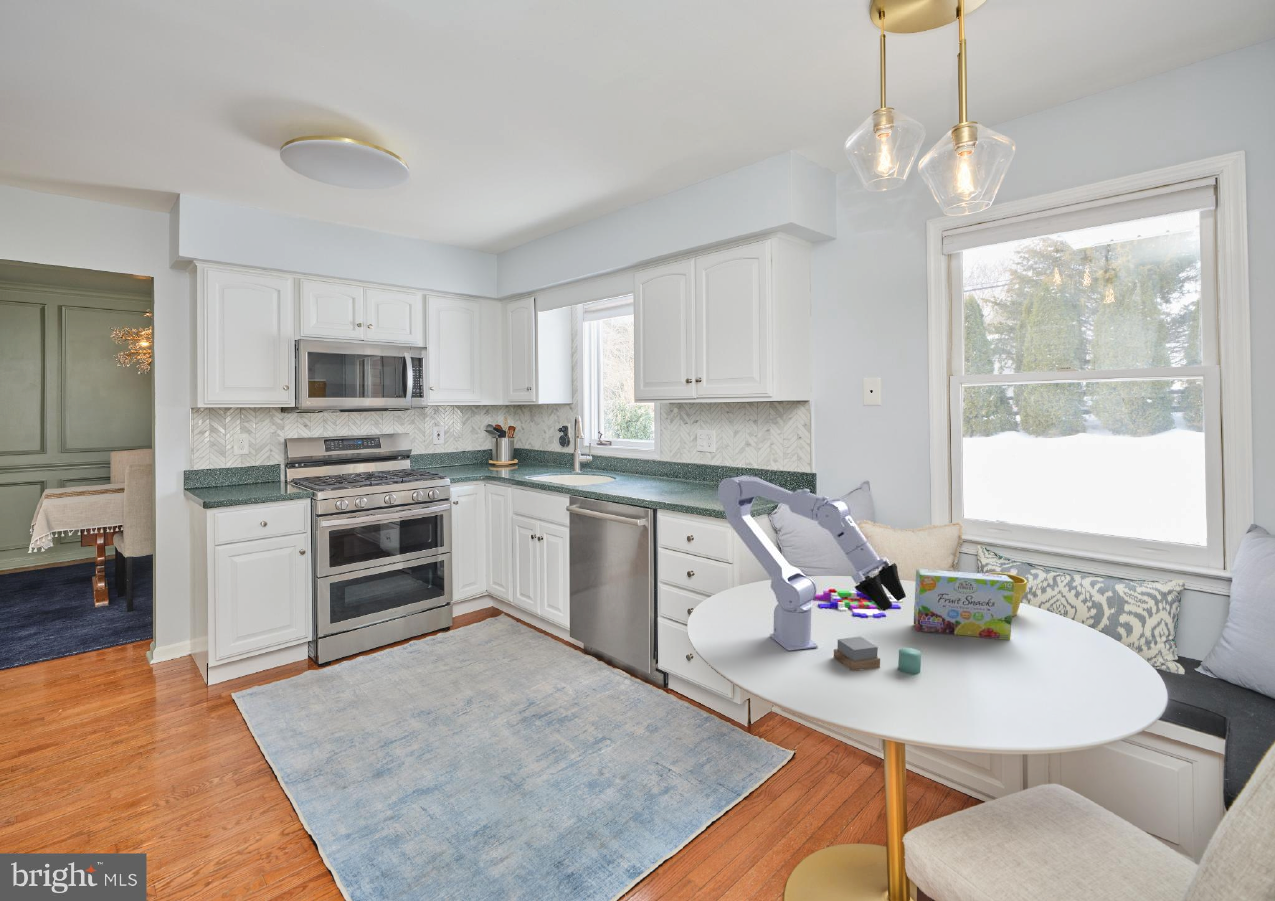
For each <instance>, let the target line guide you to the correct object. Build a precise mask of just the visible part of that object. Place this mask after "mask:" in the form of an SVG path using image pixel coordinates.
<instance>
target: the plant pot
mask: <svg viewBox="0 0 1275 901" xmlns="http://www.w3.org/2000/svg"><path fill="white" fill-rule="evenodd" d="M985 574H995V575H1006V576H1008V577H1009V578H1010V579H1011V580H1013V581H1014V596H1013V609H1012V617H1015V616H1016V615H1018V611H1019V609H1020V605H1021V602H1022V599H1023V596H1024V595H1026V593H1027V589H1028V588H1027V587H1028V581H1027V579H1026V578H1024V577H1022V576H1019V575H1016V574H1011V573H1006V572H986V573H985Z"/></svg>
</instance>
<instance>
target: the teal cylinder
mask: <svg viewBox="0 0 1275 901" xmlns="http://www.w3.org/2000/svg"><path fill="white" fill-rule="evenodd" d="M897 661H898V665H897V668H898V670H899V671H900V672H902V673H905V674H910V675H918V674H920V673H921V663H922V653H921V651H919V650H918V649H915V648H911V647H901V648H899V649H898V659H897Z"/></svg>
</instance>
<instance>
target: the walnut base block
mask: <svg viewBox="0 0 1275 901" xmlns="http://www.w3.org/2000/svg"><path fill="white" fill-rule="evenodd" d="M833 658H834V659H835V660H836V661H837V662H839V663H841V665H842V666H845V667H846V668H847V669H848V668H849V669H848V670H850V672H854V671H855V670H856V671H861V670H860V669H864V670H868V669H869V670H871V668H872V669H878V668H879V669H880V668H881V657H878V656H877V658H873V659H866V660H859V661H853V660H851V659H850V658H848V657H847V656H845V655H844V654H842V653H841V652H839V651H838V650H837V648H835V649H833Z"/></svg>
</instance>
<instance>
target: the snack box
mask: <svg viewBox="0 0 1275 901" xmlns="http://www.w3.org/2000/svg"><path fill="white" fill-rule="evenodd" d="M914 590H915V591H914V606H913V625H914V627H915V629H916V631H917V632H924V633H925V632H926V633H936V634H946V635H957V636H966V637H967V636H968V637H976V638H977V637H978V638H987V639H995V640H996V639H998V640H1000V639H1001V640H1006V641H1007V640H1011V637H1012V636H1011V633H1012V620H1013V619H1012V618H1013V616H1012V609H1013V596H1014V581H1013V580H1011V579H1010V578H1009V577H1008V576H1006V575H995V574H986V573H979V572H966V571H965V572H964V571H950V570H949V571H948V570H937V569H935V570H934V569H922V568H916V570H915V587H914Z"/></svg>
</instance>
